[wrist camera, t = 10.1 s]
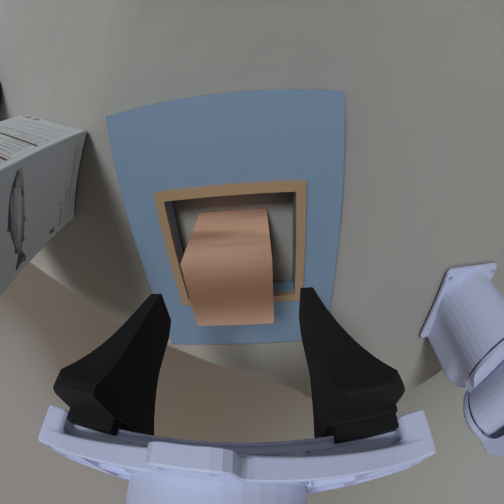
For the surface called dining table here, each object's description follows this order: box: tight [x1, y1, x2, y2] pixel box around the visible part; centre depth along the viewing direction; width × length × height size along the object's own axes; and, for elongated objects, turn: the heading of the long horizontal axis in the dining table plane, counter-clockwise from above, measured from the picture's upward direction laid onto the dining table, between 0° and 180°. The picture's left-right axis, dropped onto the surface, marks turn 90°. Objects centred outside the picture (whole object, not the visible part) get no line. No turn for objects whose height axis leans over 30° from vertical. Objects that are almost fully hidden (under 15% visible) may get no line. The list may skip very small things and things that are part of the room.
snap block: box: [180, 208, 274, 326], centre depth 17 cm, size 4×4×6 cm
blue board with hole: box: [106, 89, 345, 344], centre depth 19 cm, size 20×14×2 cm
